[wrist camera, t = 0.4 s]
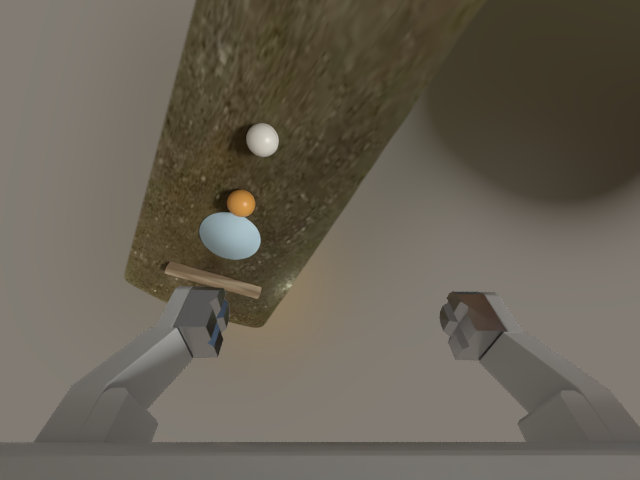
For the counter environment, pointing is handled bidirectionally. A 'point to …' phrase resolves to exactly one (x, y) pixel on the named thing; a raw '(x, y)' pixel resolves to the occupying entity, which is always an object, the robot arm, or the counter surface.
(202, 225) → the blue mark
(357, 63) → the counter surface
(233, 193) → the orange ball
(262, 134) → the ivory ball
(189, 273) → the wooden stop rail
